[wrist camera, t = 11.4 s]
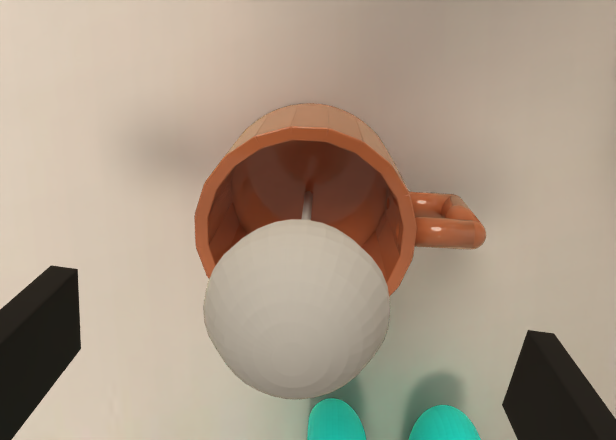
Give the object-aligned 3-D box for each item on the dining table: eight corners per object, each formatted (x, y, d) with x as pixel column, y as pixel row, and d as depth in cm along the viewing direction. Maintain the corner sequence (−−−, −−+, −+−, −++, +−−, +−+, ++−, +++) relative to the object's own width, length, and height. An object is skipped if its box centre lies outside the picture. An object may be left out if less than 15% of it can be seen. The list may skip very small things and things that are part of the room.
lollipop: (260, 246, 29) (200, 446, 15) (247, 147, 27) (163, 274, 13) (366, 239, 29) (404, 437, 15) (361, 138, 27) (399, 258, 13)
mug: (225, 262, 31) (198, 326, 24) (222, 98, 27) (190, 121, 21) (444, 274, 31) (476, 341, 24) (469, 110, 27) (515, 137, 20)
